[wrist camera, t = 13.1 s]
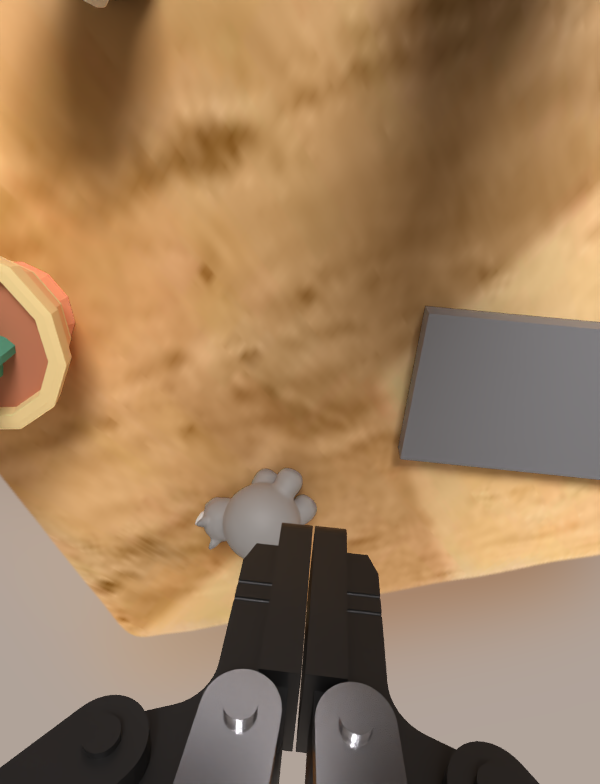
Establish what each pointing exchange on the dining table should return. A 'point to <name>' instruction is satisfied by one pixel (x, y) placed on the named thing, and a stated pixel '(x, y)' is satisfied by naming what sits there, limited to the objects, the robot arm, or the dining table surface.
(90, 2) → the character mug
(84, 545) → the dining table surface
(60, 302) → the potted cactus
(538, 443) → the plate
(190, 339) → the dining table surface
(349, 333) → the dining table surface
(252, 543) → the chubby cartoon animal
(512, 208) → the dining table surface
